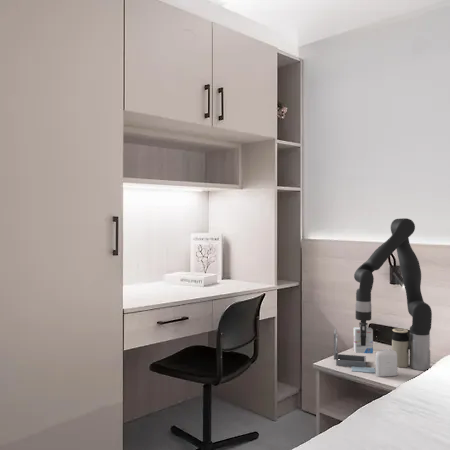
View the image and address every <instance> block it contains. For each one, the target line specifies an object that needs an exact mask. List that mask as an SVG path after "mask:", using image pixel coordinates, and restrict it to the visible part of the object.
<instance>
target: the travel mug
mask: <svg viewBox="0 0 450 450" xmlns="http://www.w3.org/2000/svg"><path fill="white" fill-rule="evenodd" d="M408 332H409V330H408V329H405V328H399V327H397V328H393V329H392V335H391V350H394V351H396V353H397V368H407V367H410V336H409V335H408Z"/></svg>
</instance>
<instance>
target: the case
mask: <svg viewBox="0 0 450 450" xmlns="http://www.w3.org/2000/svg"><path fill="white" fill-rule="evenodd" d="M338 337H339V335H338V334H337V328H334V331H333V360H334V361H335V365H336V366H337V365H339V366H341V367H350V368H352V366H357V367H367V366H366V365H367V364H366V363H367V361H366V359H367V357H366V355H355V354H341V353H339V352H338V351H339V338H338ZM338 359H340V360H338Z"/></svg>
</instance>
